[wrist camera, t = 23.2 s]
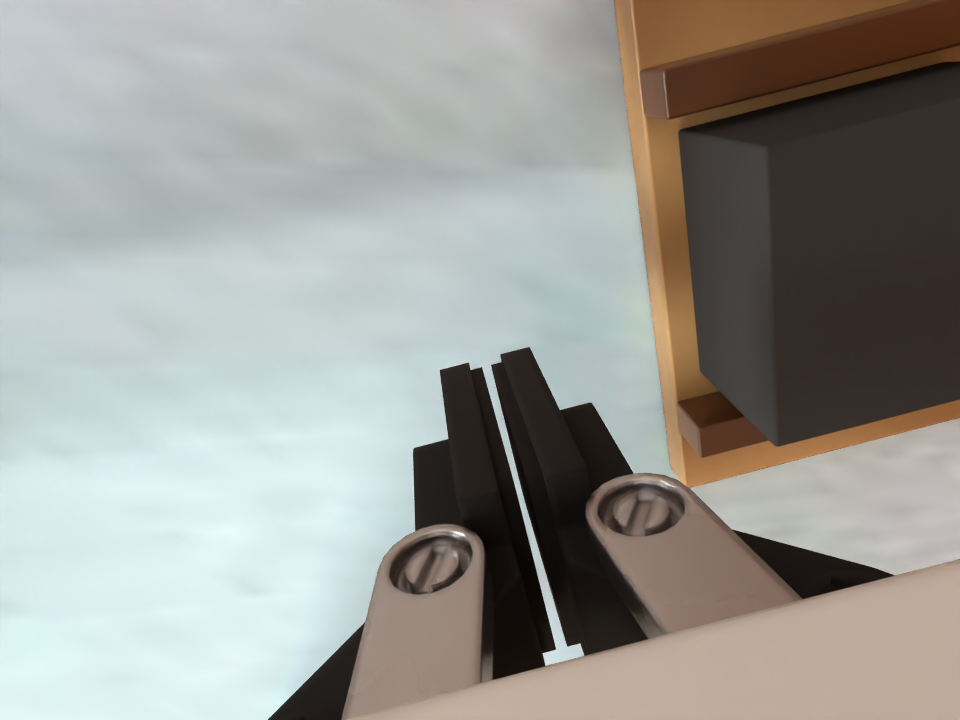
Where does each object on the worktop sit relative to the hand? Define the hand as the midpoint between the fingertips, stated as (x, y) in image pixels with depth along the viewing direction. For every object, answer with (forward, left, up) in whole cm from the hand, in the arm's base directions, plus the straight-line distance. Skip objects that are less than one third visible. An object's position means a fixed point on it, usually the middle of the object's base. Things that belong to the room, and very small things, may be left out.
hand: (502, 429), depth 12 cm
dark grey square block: (0, +9, -5) cm, 10 cm away
